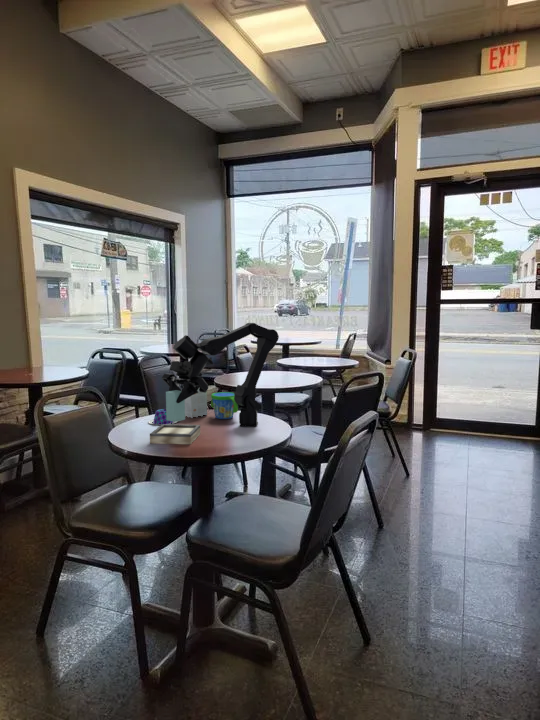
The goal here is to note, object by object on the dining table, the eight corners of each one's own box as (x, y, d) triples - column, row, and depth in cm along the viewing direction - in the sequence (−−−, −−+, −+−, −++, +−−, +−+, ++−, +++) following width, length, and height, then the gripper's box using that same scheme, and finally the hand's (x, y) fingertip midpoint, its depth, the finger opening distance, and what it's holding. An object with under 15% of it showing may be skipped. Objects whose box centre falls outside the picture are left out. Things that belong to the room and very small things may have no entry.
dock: (200, 433, 171) (200, 424, 171) (190, 444, 157) (190, 434, 157) (162, 433, 172) (162, 424, 172) (150, 443, 159) (149, 433, 158)
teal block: (176, 417, 167) (175, 390, 167) (185, 419, 165) (184, 391, 164) (166, 420, 164) (165, 391, 163) (175, 421, 161) (174, 393, 160)
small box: (199, 413, 207) (198, 384, 206) (207, 415, 202) (207, 385, 201) (183, 416, 201) (182, 386, 200) (191, 418, 197) (191, 387, 196)
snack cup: (245, 419, 195) (245, 395, 194) (223, 423, 188) (223, 397, 188) (225, 413, 207) (224, 390, 206) (204, 416, 201) (203, 392, 200)
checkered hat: (165, 418, 198) (165, 406, 198) (184, 422, 191) (184, 409, 191) (142, 423, 189) (141, 410, 189) (161, 428, 182) (160, 414, 181)
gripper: (165, 351, 171) (141, 385, 163) (201, 353, 160) (178, 390, 152) (181, 370, 178) (159, 404, 170) (218, 374, 167) (196, 410, 159)
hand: (172, 401), depth 163 cm, fingers closed on teal block, 4 cm apart
